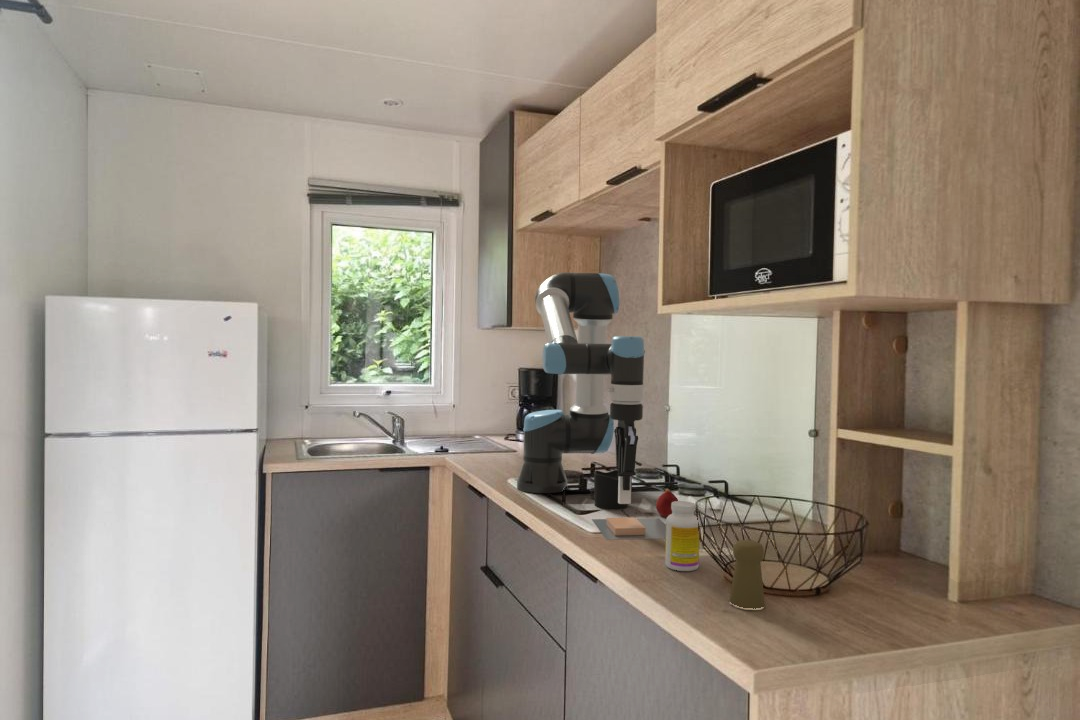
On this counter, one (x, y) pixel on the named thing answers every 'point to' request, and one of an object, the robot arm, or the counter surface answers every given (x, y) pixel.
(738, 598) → the cork
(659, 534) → the slate board
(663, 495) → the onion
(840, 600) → the counter surface
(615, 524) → the tile
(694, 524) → the supplement bottle
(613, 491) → the pen holder
